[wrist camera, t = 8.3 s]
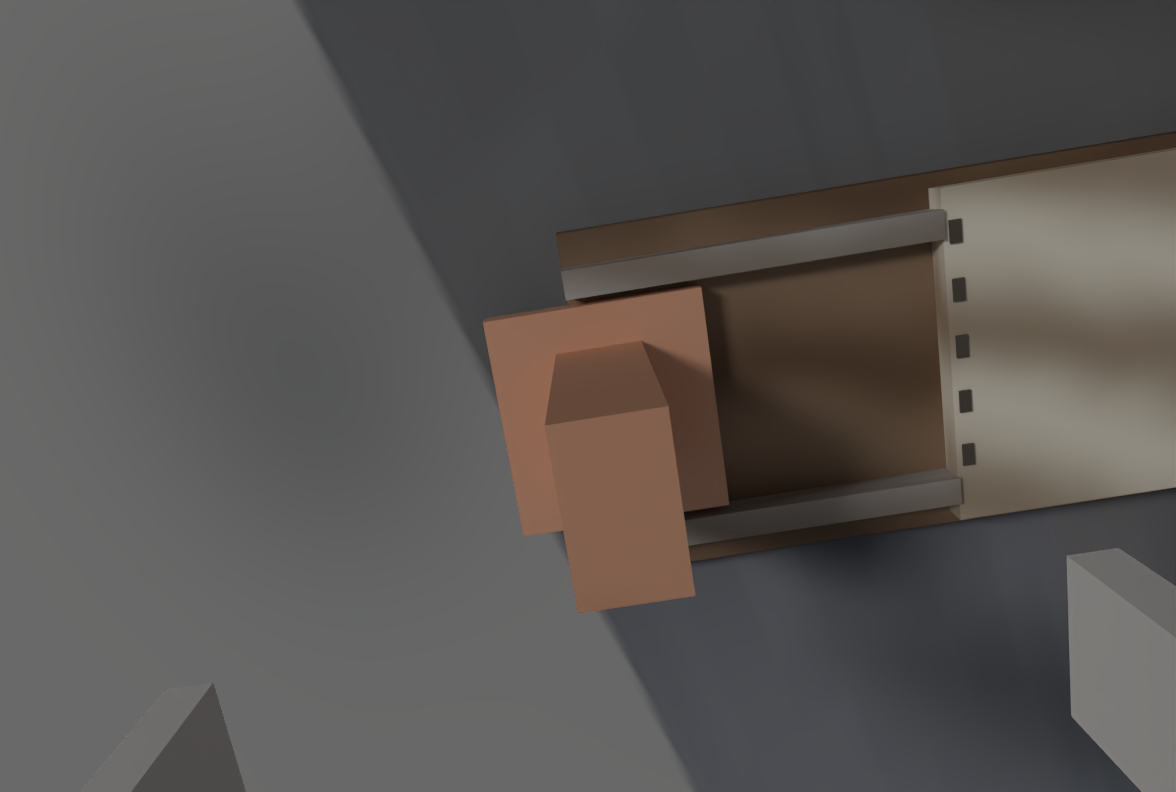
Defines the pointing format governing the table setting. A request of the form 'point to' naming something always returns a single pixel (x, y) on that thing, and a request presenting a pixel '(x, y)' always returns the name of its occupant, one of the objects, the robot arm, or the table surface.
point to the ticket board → (924, 340)
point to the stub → (612, 436)
